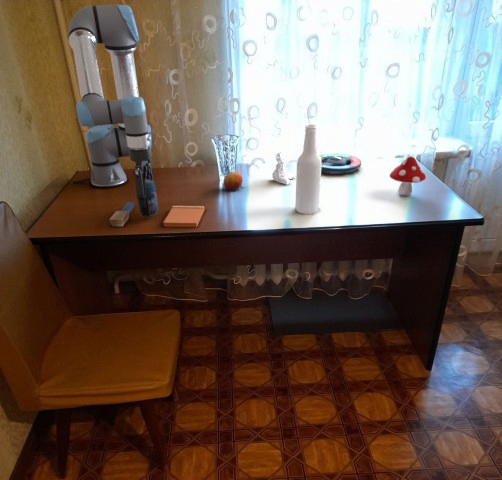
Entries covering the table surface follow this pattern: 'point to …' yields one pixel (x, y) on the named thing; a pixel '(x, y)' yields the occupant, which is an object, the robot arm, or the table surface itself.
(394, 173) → the decorative mushroom
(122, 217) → the brush
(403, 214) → the table surface
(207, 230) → the table surface
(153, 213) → the soda can
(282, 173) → the white creature statuette
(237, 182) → the fruit
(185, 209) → the orange flat block
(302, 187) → the alcohol
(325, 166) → the electronic game
